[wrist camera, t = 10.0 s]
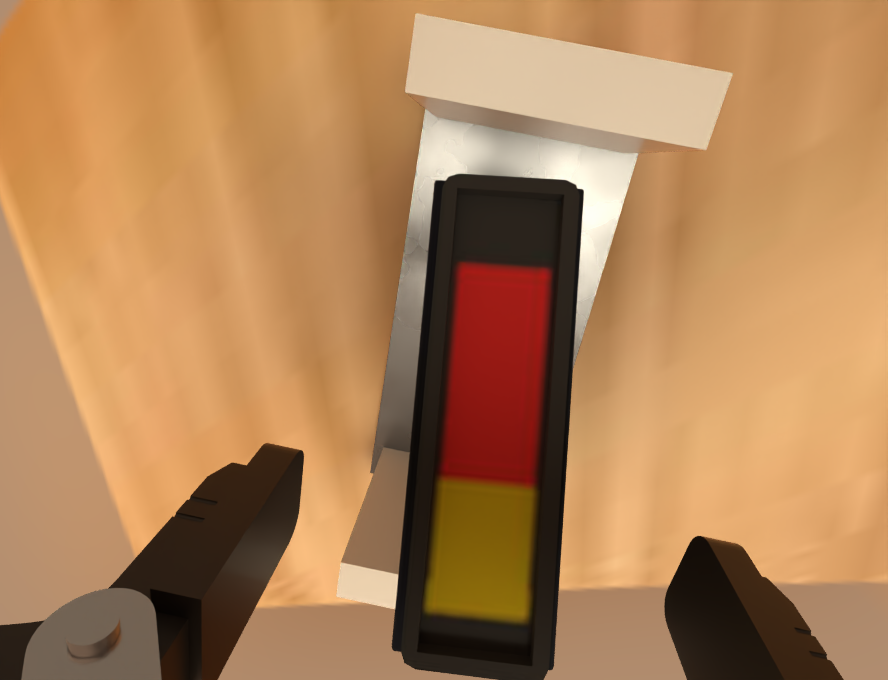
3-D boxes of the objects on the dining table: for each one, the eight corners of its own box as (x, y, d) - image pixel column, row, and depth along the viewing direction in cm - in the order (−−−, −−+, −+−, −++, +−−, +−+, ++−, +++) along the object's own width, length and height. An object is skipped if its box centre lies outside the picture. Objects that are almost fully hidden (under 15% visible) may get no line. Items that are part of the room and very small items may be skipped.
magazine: (435, 505, 25) (381, 682, 10) (457, 254, 26) (437, 84, 11) (508, 513, 25) (563, 705, 10) (527, 259, 26) (601, 92, 11)
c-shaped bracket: (443, 68, 20) (415, 13, 12) (639, 106, 19) (732, 72, 12) (379, 474, 27) (336, 596, 19) (522, 504, 27) (534, 639, 19)
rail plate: (434, 70, 21) (431, 66, 20) (644, 110, 20) (652, 108, 19) (374, 462, 28) (370, 472, 27) (529, 494, 28) (531, 506, 27)
